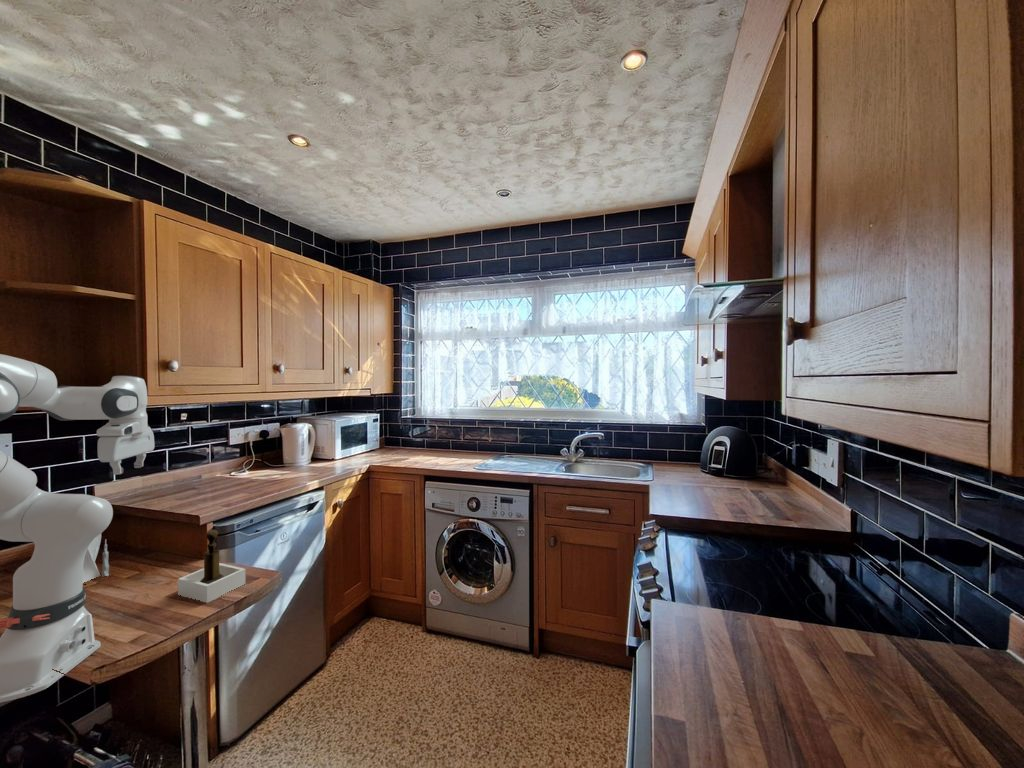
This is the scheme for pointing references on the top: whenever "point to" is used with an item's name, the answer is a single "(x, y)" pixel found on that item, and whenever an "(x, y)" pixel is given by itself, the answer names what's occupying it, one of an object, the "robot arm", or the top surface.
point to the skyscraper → (89, 561)
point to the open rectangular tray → (209, 592)
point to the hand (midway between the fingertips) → (128, 470)
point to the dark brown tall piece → (211, 560)
